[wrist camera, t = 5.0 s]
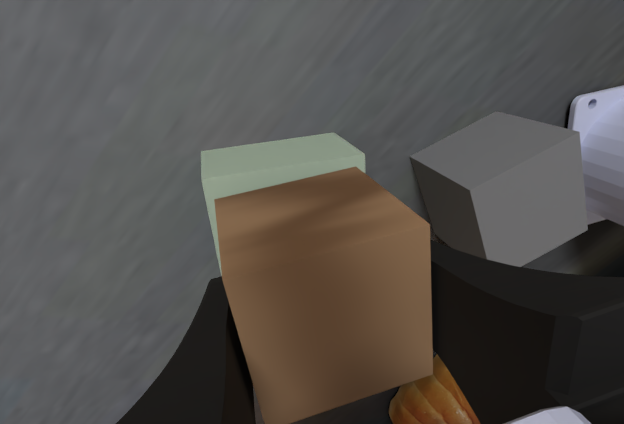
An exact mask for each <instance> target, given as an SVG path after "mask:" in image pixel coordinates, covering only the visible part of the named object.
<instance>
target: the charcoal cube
mask: <svg viewBox="0 0 624 424" xmlns="http://www.w3.org/2000/svg"><path fill="white" fill-rule="evenodd" d="M410 159H411V162H412V165H413V168H414V171H415V174H416V178H417V181H418V184H419V187H420V190H421V193H422V196H423V199H424V203H425V206H426V209H427V212H428V215H429V218H430V221H431V224H432V227H433V231H434V234H435V235H437V236H438V237H439V238H440V239H441V240H443V241H444V242H445V243H446V244H447V245H449V246H450V247H451V248H453V249H456V250H459V251H462V252H465V253H468V254H471V255H474V256H477V257H481V258H484V259H488V260H491V261H496V262H500V263H504V264H508V265H512V266H517V267H521V266H523V265H525V264H527V263H529V262H530V261H532V260H534V259H536V258H538V257H539V256H541V255H543V254H545V253H547V252H549V251H550V250H552V249H554V248H556V247H558V246H560V245H561V244H563V243H565V242H567V241H569V240H571V239H572V238H574V237H576V236H578V235H580V234H582V233H583V232H585V231H587V230H588V226H587V214H586V202H585V190H584V178H583V166H582V155H581V143H580V132H578V131H574V130H570V129H566V128H562V127H558V126H554V125H550V124H546V123H542V122H538V121H534V120H530V119H526V118H522V117H518V116H514V115H510V114H506V113H502V112H498V111H496V112H494V113H492V114H490V115H488V116H486V117H484V118H482V119H480V120H478V121H476V122H475V123H473V124H471V125H469V126H467V127H465V128H463V129H461V130H459V131H457V132H455V133H453V134H452V135H450V136H448V137H446V138H444V139H442V140H440V141H438V142H436V143H434V144H432V145H431V146H429V147H427V148H425V149H423V150H421V151H419V152H417V153H415V154H413V155H411V156H410Z"/></svg>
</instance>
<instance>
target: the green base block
mask: <svg viewBox="0 0 624 424" xmlns="http://www.w3.org/2000/svg"><path fill="white" fill-rule="evenodd" d="M355 166H356V167H357V168H359V169H360V170H361V171H362V172H364V173H365V154H364V153H363V152H361V151H360V150H358V149H357V148H355V147H354V146H353V145H351V144H350V143H348V142H347V141H345V140H344V139H343V138H341V137H340V136H338V135H337V134H335V133H327V134H320V135H313V136H306V137H299V138H292V139H285V140H278V141H271V142H264V143H256V144H249V145H242V146H235V147H228V148H221V149H214V150H207V151H201V180H202V185H203V189H204V194H205V199H206V204H207V209H208V214H209V218H210V223H211V228H212V233H213V238H214V242H215V247H216V252H217V257H218V262H219V267H220V271H221V261H220V252H219V242H218V232H217V222H216V212H215V202H214V199H218V198H222V197H227V196H231V195H235V194H239V193H244V192H248V191H252V190H257V189H261V188H265V187H270V186H274V185H278V184H282V183H287V182H291V181H295V180H300V179H304V178H308V177H312V176H317V175H321V174H325V173H330V172H334V171H338V170H342V169H347V168H351V167H355ZM221 276H222V271H221Z"/></svg>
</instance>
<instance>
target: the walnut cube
mask: <svg viewBox="0 0 624 424" xmlns="http://www.w3.org/2000/svg"><path fill="white" fill-rule="evenodd" d="M214 202H215V212H216V222H217V232H218V242H219V252H220V261H221V271H222V281H223V284H224V287H225V291H226V294H227V298H228V301H229V304H230V308H231V311H232V314H233V318H234V321H235V325H236V328H237V331H238V335H239V338H240V342H241V345H242V348H243V352H244V355H245V358H246V362H247V365H248V369H249V372H250V375H251V379H252V382H253V386H254V389H255V392H256V396H257V399H258V402H259V406H260V409H261V413H262V416H263V419H264V423H265V424H290V423H292V422H295V421H298V420H301V419H304V418H307V417H310V416H313V415H316V414H319V413H322V412H325V411H327V410H330V409H333V408H336V407H339V406H342V405H345V404H348V403H351V402H354V401H357V400H359V399H362V398H365V397H368V396H371V395H374V394H377V393H380V392H383V391H386V390H389V389H392V388H394V387H397V386H400V385H403V384H406V383H409V382H412V381H415V380H418V379H421V378H424V377H427V376H429V375H432V374H433V345H432V297H431V249H430V224H429V223H428V222H426V221H425V220H424V219H422V218H421V217H420V216H419V215H417V214H416V213H415V212H414V211H412V210H411V209H410V208H408V207H407V206H406V205H405V204H403V203H402V202H401V201H399V200H398V199H397V198H396V197H394V196H393V195H392V194H391V193H389V192H388V191H387V190H385V189H384V188H383V187H382V186H380V185H379V184H378V183H377V182H375V181H374V180H373V179H371V178H370V177H369V176H368V175H366V174H365V173H364V172H362V171H361V170H360V169H359V168H357V167H356V166H355V167H351V168H347V169H342V170H338V171H334V172H330V173H325V174H321V175H317V176H312V177H308V178H304V179H300V180H295V181H291V182H287V183H282V184H278V185H274V186H270V187H265V188H261V189H257V190H252V191H248V192H244V193H239V194H235V195H231V196H227V197H222V198H218V199H214Z"/></svg>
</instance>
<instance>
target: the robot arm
mask: <svg viewBox="0 0 624 424" xmlns="http://www.w3.org/2000/svg"><path fill="white" fill-rule="evenodd" d="M589 102H590V103H589ZM588 104H589V105H588ZM568 129H570V130H574V131H578V132H580V143H581V155H582V166H583V178H584V190H585V202H586V214H587V225H588V224H592V223H595V222H599V221H602V220H605V219H608V220H611V221H613V222H615V223H617V224H620V225H622V226H624V85H623V86H619V87H614V88H610V89H606V90H601V91H597V92H592V93H588V94H584V95H580V96H577V97H576V98H575V99H574V100H573V102H572V103H571V107H570V114H569V121H568ZM430 249H431V297H432V345H433V350H434V351H435V352H436V353H437V355H438V356H439V357H440V359H441V360H442V362H443V363H444V364H445V366H446V367H447V369H448V370H449V372H450V374H451V375H452V377H453V378H454V380H455V382H456V383H457V385H458V386H459V388H460V390H461V391H462V393H463V395H464V396H465V398H466V400H467V401H468V403H469V405H470V406H471V408H472V410H473V411H474V413H475V415H476V417H477V418H478V420H479V422H480V423H481V424H624V277H600V276H584V275H573V274H563V273H554V272H547V271H540V270H534V269H528V268H523V267H517V266H512V265H508V264H504V263H500V262H496V261H491V260H488V259H484V258H481V257H477V256H474V255H471V254H468V253H465V252H462V251H459V250H456V249H453V248H450V247H448V246H445V245H442V244H439V243H437V242H434V241H432V240H430ZM116 424H256V421H255V411H254V396H253V382H252V379H251V375H250V372H249V369H248V365H247V362H246V358H245V355H244V352H243V348H242V345H241V342H240V338H239V335H238V331H237V328H236V325H235V321H234V318H233V314H232V311H231V308H230V304H229V301H228V298H227V294H226V291H225V287H224V284H223V281H222V276H221V277H218V278H214V279H211V280H210V282H209V283H208V286H207V289H206V292H205V294H204V297H203V299H202V302H201V304H200V306H199V309H198V311H197V313H196V315H195V317H194V319H193V321H192V323H191V325H190V327H189V329H188V331H187V333H186V334H185V336H184V338H183V340H182V342H181V343H180V345H179V347H178V349H177V350H176V352H175V353H174V355H173V356H172V358H171V359H170V361H169V362H168V364H167V365H166V367H165V368H164V370H163V371H162V372H161V374H160V375H159V376H158V377H157V379H156V380H155V381H154V382H153V384H152V385H151V386H150V387H149V388H148V390H147V391H146V392H145V393H144V395H143V396H142V397H141V398H140V399H139V400H138V401H137V402H136V404H135V405H134V406H133V407H132V408H131V409H130V410H129V411H128V412H127V413H126V414H125V415H124V416H123V417H122V418H121V419H120V420H119V421H118V422H117V423H116Z"/></svg>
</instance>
